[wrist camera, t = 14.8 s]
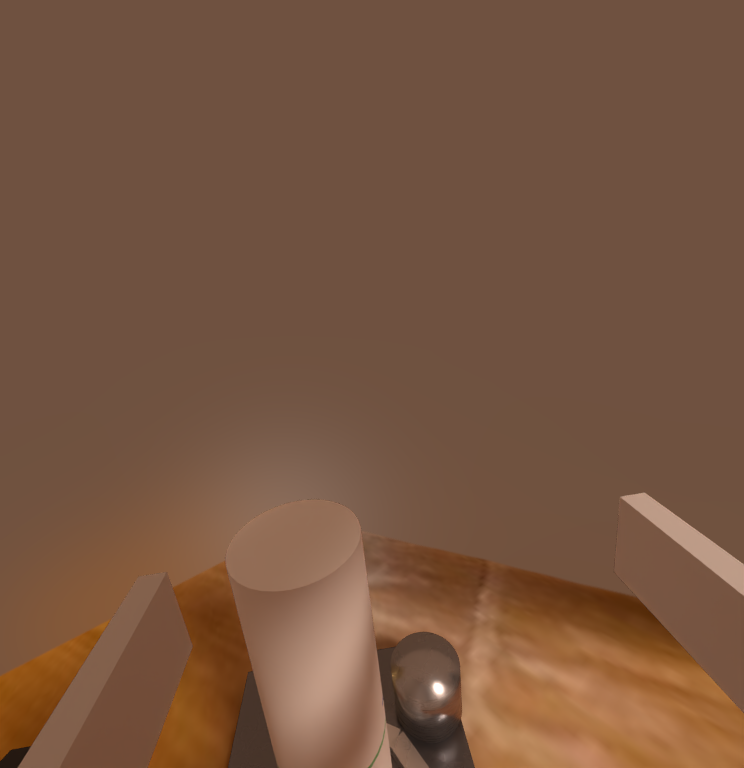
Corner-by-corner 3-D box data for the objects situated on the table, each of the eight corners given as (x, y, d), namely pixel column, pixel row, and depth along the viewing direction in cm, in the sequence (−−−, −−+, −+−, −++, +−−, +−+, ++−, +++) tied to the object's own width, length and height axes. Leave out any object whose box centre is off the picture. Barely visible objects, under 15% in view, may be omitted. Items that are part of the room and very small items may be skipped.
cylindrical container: (389, 757, 32) (354, 491, 24) (409, 889, 25) (369, 574, 18) (302, 778, 31) (239, 510, 24) (298, 921, 24) (208, 605, 17)
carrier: (443, 647, 41) (439, 585, 39) (533, 954, 23) (536, 872, 20) (250, 680, 40) (234, 619, 38) (178, 1036, 21) (137, 958, 19)
